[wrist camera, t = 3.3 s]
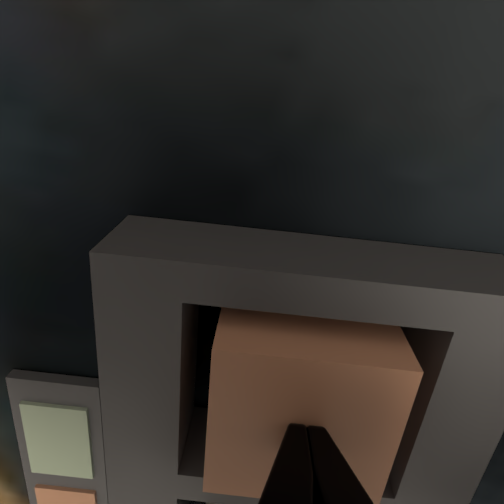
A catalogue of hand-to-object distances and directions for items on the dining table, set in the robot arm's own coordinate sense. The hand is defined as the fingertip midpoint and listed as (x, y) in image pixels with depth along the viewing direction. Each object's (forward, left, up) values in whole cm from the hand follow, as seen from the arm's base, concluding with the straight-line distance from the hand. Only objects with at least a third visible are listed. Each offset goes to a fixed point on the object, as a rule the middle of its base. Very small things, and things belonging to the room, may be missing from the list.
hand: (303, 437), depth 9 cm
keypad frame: (-6, 0, -3) cm, 7 cm away
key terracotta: (0, 0, -3) cm, 3 cm away
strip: (-6, +8, -3) cm, 10 cm away
